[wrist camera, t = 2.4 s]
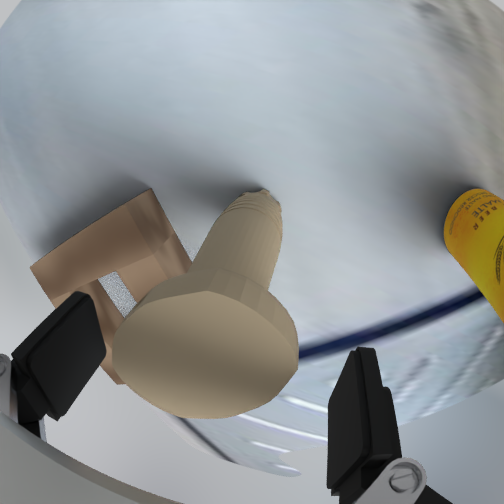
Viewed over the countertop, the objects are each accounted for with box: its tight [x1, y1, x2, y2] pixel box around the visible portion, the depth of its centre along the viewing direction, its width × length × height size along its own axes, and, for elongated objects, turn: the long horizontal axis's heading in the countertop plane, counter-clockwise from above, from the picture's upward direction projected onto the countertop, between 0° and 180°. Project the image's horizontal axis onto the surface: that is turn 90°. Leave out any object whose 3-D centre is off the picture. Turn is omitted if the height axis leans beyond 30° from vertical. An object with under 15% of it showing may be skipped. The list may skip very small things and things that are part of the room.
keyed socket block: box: [30, 188, 192, 384], centre depth 25 cm, size 16×15×4 cm
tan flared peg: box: [112, 189, 299, 419], centre depth 15 cm, size 5×6×15 cm
